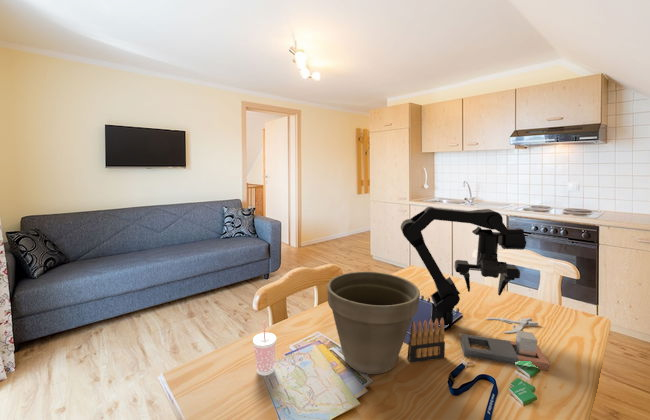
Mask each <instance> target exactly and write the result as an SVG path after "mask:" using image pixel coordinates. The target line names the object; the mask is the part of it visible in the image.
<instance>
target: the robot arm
mask: <svg viewBox="0 0 650 420" xmlns="http://www.w3.org/2000/svg"><path fill="white" fill-rule="evenodd" d="M503 219H504V218H503V216H502V214H501V213H500V212H498V211H495V210H493V209H490V208H485V209H483V208H482V209H473V210H463V209H451V208H442V207H441V208H440V207H433V206H426V207H425V208H424V209H423V210H422V211H420V212H418V213H417V214H415V215H414V216H413V217H411V218H407V219H405V220H403V221H402V223H401V225H400V230H401V232H402V235H403V237H404V238H405V239H406V240H407V242H409V244H411V246H412V247H413V248H414V249H415V251H416V252H417V254H418V256H419V258H420V259H421V261H422V263H423V264H424V266H425V267H426V269H427V271H428V273H429V275H430V276H431V278H432V281H434V285H435V288H436V291H435V292H433V293H432V294H431V295H430V297H431V301H432V302H433V303H431V311H430V312H431V315H430V319H432V322H433V323H435V320H436V318H437V319H438V323H439V325H440V321H441V319H442V318H443V319H444V325H448V324H449V326H448V327H447V328H446V329H447V330H448V329H449V330H451V329H452V326H453V323H454V308H455V306H457V305H458V304H459V303H460V300H461V297H460V295H461V293H460V290H458V288H457V287H456V284H455V282H454V281H453V279H452V278H451V277H450V276H449V277H448V278H446V277H445V275H444V274H443V272H442V271H441V269H440V267H439V266H438V264H437V262H436V260H435V259H434V256H433V255H432V253H431V252H430V250H429V248H428V246H427V245H426V243H425V239H424V236H423V233H422V231H424V230H425V229H426V228H427V227H428V226H429V225H430V224H431V223H432V222H434V220H435V221H444V222H455V223H462V224H463V223H465V224H470V225H473V226H476V228H475V229H473V230H472V232H471V233H472V234H474V235H475V236H478V240H477V241H478V243H477V253H476V255H477V256H476V264H473V263H472V264H471V263H469V261H468V260H463V259H462V260H461V259H456V260H455V261H454V269H455V272H456V273H459V275H460V276H463V278H464V280H465V285H466V288H467V292H469V293H470V291H471V284H470V283H471V282H470V281H471V280H470V276H471V275H470V271H479V272H480V274H481V275H480V276H482V277H484V278H487V277H489V278H495V279H497V278H499V281H498V288H497V289H498V290H497V294H498V296H501V295H502V293H503V291H504V290H505V287H507V285H508V283H509V282H511V281H515V280H516V279H520V278H521V270H519V268H518V267H517V266H516V265H515V264H509V263H507V262H506V261H499V259H498V249H499V248H498V247H499V246H500V248H502V250H524V249H526V246H527V239H526V235H525V233H524V232H525V230H524V229H523V228H520V227H519V228H518V227H517V228H508V227H507V226H506V225H505V223H504V222H503ZM483 228H484V229H483ZM494 231H495V232H494Z"/></svg>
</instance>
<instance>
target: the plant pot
mask: <svg viewBox="0 0 650 420" xmlns="http://www.w3.org/2000/svg"><path fill="white" fill-rule="evenodd" d="M326 285H327V286H326V292H327V303H328V306H329V308H330V309H331V310H332V315H333V318H334V319H333V320H334V322H335V327H336V331H337V332H336V333H337V335H338V339H339V343H340V347H341V350H342V354H343V358H344V361H345V363H346V364H347V365H348V366H349V367H351V368H352V369H353V370H355V371H357V372H359V373H364V374H368V375H378V374H384V373H387V372H389V371H390V370H392V369H393V368H394V367H395V365H396V363H397V361H398V358H399V355H400V354H401V353H400V352H401V350H402V347H403V345H404V342H405V339H406V336H407V334H408V331H409V328H410V326H411V324H412V323H411V322H412V320H413V317H414V316H415V315H416V314H417V312H418V309H419V305H420V304H419V303H420V295H421V293H420V292H421V291H420V289H419V288H418V286H417V285H415V284H414V283H413V282H412V281H410V280H408V279H406V278H403V277H401V276H397V275H394V274H390V273H386V272H385V273H384V272H377V271H354V272H353V271H352V272H347V273H343V274H340V275H337V276H334V277H333V278H331V279H330V280H329V281H328V283H327V284H326Z"/></svg>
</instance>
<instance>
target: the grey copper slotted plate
mask: <svg viewBox="0 0 650 420" xmlns="http://www.w3.org/2000/svg"><path fill="white" fill-rule="evenodd" d="M515 343H516V341H512V340H507V339H501V338H500V339H498V338H493V337H488V336H487V337H485V336H479V335H474V334H466V333H460V344H461V348H462V353H463V356H464V357H467V358H472V359H473V358H474V359H479V360H484V361H492V362H496V363H502V364H507V365H508V364H510V365H514V366H516V365H515V362H517V361H531V362H532V364H533V365H535V366H536V367H538V368H539V369H538V370H543V371H550V363H549V361H548V359H547V358H546V356H545V354H544V353H543V351H542V350H541V348H540V346H539V345H538V344H537V348H536V357H535V358H532V357H526V356H520V355H517V354H516V352H515ZM471 345H474V346H475V345H476V346H482V347H486V348H487V349H484V348H478V347H477V348H475V347H471Z"/></svg>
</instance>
